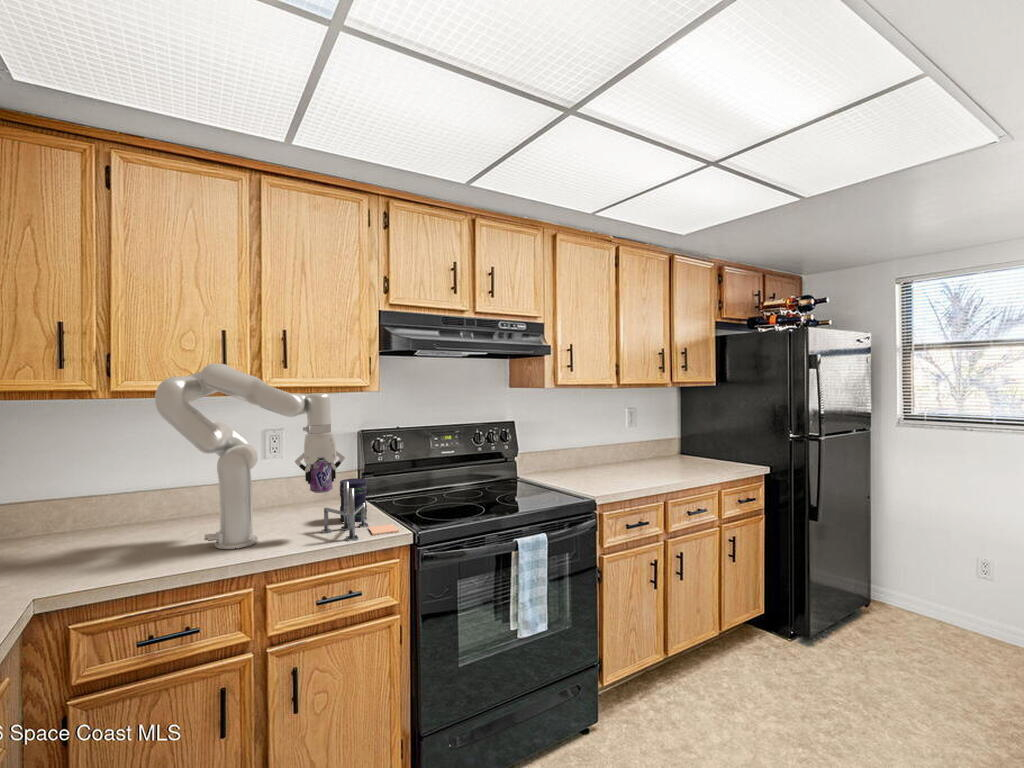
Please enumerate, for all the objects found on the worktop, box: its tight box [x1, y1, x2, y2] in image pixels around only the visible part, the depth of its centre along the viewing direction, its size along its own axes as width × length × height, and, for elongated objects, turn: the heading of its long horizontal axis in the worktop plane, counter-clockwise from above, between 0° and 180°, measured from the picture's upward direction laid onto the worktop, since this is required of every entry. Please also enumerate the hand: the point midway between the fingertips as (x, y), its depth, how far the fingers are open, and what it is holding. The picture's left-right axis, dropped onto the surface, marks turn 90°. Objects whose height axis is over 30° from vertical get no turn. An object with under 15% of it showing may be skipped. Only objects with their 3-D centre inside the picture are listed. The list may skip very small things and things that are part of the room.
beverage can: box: [309, 457, 333, 494], centre depth 180 cm, size 7×7×12 cm
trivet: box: [367, 523, 400, 536], centre depth 189 cm, size 9×9×1 cm
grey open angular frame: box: [321, 481, 369, 542], centre depth 185 cm, size 16×17×17 cm
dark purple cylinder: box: [339, 477, 368, 523], centre depth 203 cm, size 10×10×15 cm
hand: (320, 481), depth 180 cm, fingers closed on beverage can, 6 cm apart
